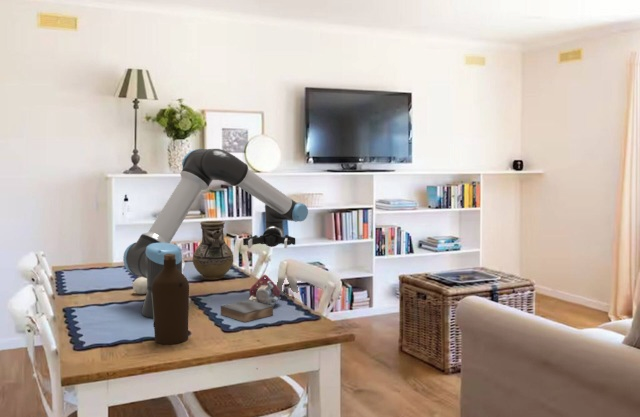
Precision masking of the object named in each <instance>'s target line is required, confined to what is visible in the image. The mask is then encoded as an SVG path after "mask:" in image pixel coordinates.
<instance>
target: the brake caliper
mask: <svg viewBox="0 0 640 417" xmlns="http://www.w3.org/2000/svg"><path fill="white" fill-rule="evenodd" d="M248 292H249V298H248V300H252V301H255V302H259V303H263V304H266V305H270V306H273V308H274V307H275V305H277V303H278V301H279V300H280V296H281V290H280V288H279V287H278V286H277V285H276V284H275V283H274V282H273V281H272V279H271V278H269V276H268V275H267V274H263V275H262V276H261V277H260V278H259V279H258V280H257V281H256V282H255V283H254V284H253V285H252V286H251V287H250V289H249V291H248Z"/></svg>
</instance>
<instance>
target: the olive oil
mask: <svg viewBox="0 0 640 417" xmlns="http://www.w3.org/2000/svg"><path fill="white" fill-rule="evenodd" d="M151 293H152V305H153V318H152V319H153V324H152V325H153V329H154V330H153V331H154V342H155V343H157V344H160V345H174V344H175V345H176V344H180V343H184V342H186V341H187V340H188V339H189V311H190V310H189V308H190V307H189V306H190V305H189V304H190V284H189V282H188V278H187V276H185V275H184V274H183V272H182V273H181V272H180V271H179V270H178V269H177V268H176V259H175V254H165V255H164V268H163V270H162V271H161V272H160V273H159V274H158V275H157V276H156V277H155V279H154V280H153V283H152V287H151Z"/></svg>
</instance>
